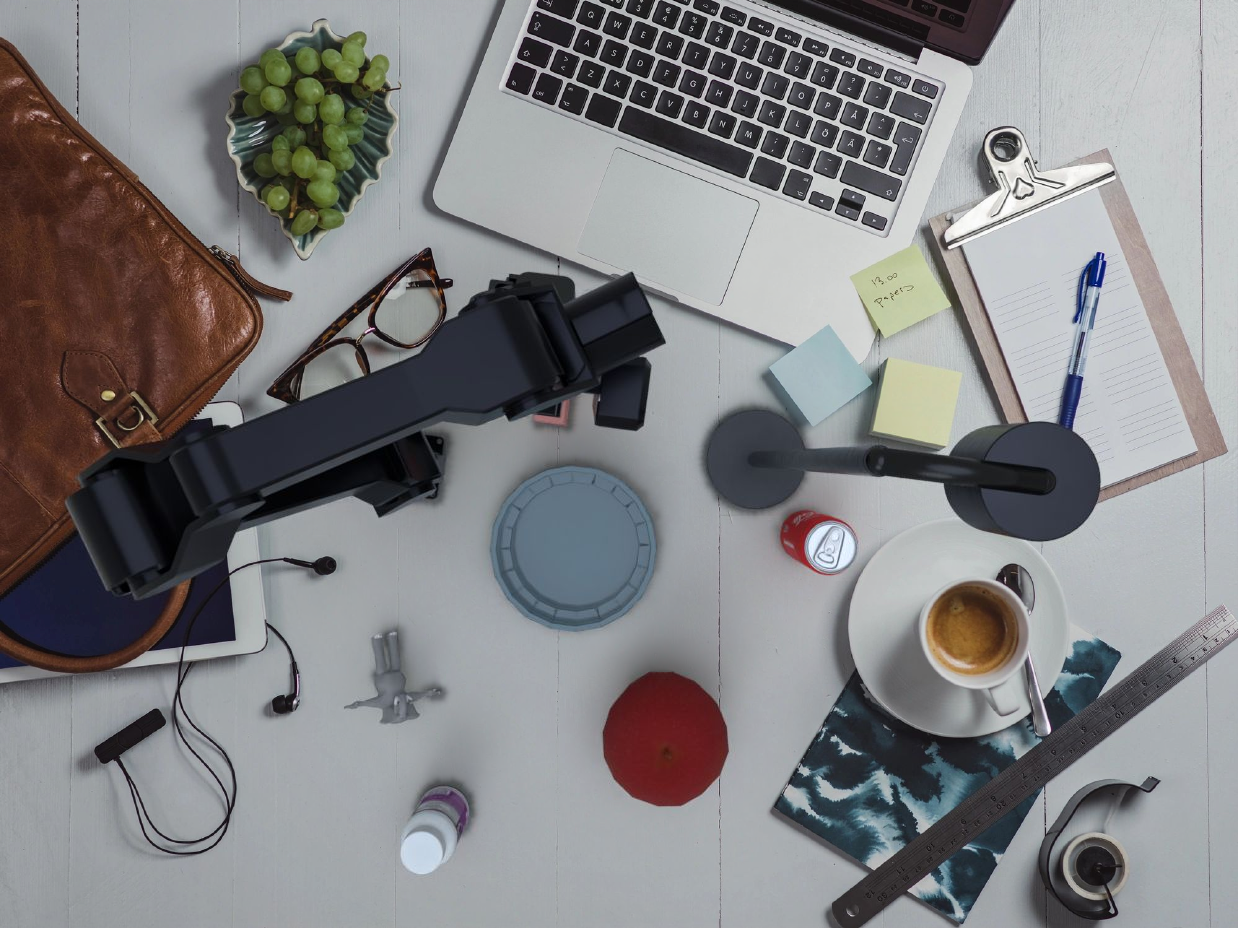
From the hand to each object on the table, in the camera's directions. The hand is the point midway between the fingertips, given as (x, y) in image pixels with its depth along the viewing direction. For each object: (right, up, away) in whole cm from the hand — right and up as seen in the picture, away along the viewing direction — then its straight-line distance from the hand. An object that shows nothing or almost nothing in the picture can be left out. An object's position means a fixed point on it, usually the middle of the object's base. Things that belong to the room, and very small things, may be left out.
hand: (548, 389), depth 79 cm
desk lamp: (+24, -7, +7) cm, 25 cm away
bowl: (+2, -15, +7) cm, 17 cm away
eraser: (0, 0, +7) cm, 7 cm away
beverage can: (+26, -14, +7) cm, 30 cm away
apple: (+11, -33, +7) cm, 35 cm away
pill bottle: (-11, -43, +8) cm, 45 cm away
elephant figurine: (-17, -29, +8) cm, 34 cm away
